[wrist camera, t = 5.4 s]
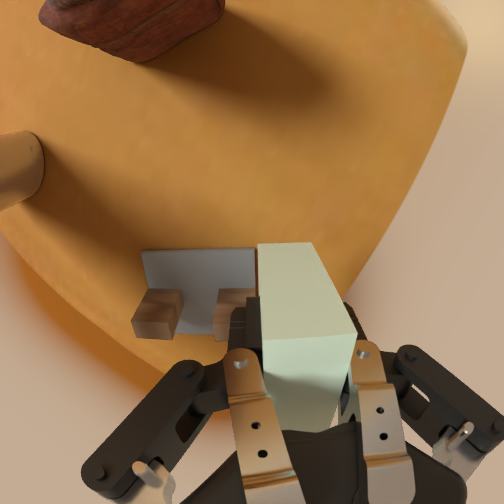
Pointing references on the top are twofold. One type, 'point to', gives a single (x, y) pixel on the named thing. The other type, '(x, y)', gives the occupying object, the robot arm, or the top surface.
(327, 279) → the pale green upright slab
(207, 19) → the wooden figurine
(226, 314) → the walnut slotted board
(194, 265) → the charcoal base board
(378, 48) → the top surface
